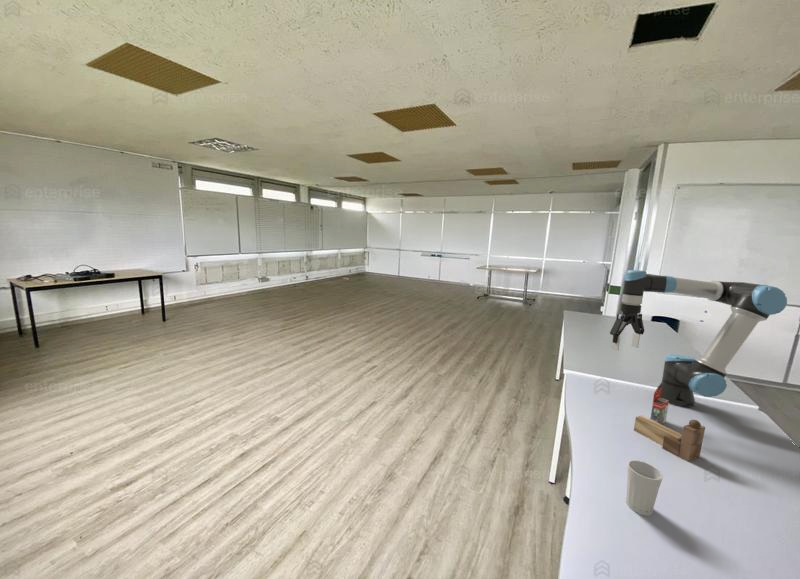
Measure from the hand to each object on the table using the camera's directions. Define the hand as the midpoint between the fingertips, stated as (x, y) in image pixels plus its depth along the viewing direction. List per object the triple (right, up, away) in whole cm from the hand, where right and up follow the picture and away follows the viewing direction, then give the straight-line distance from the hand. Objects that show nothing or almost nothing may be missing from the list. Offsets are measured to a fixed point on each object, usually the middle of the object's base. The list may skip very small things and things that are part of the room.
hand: (625, 348), depth 148 cm
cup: (-36, -36, -56) cm, 75 cm away
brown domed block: (-1, -33, -30) cm, 45 cm away
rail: (-4, -32, -23) cm, 40 cm away
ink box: (+8, -31, -9) cm, 33 cm away
